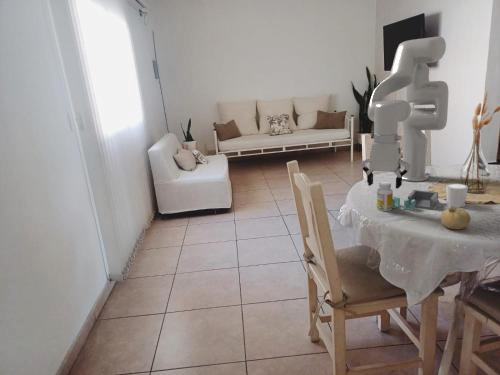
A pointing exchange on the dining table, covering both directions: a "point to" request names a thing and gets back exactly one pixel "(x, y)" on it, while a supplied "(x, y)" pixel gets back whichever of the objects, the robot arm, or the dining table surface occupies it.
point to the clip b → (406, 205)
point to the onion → (455, 218)
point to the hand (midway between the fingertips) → (383, 186)
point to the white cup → (456, 194)
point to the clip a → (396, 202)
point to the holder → (424, 199)
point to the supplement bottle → (384, 197)
